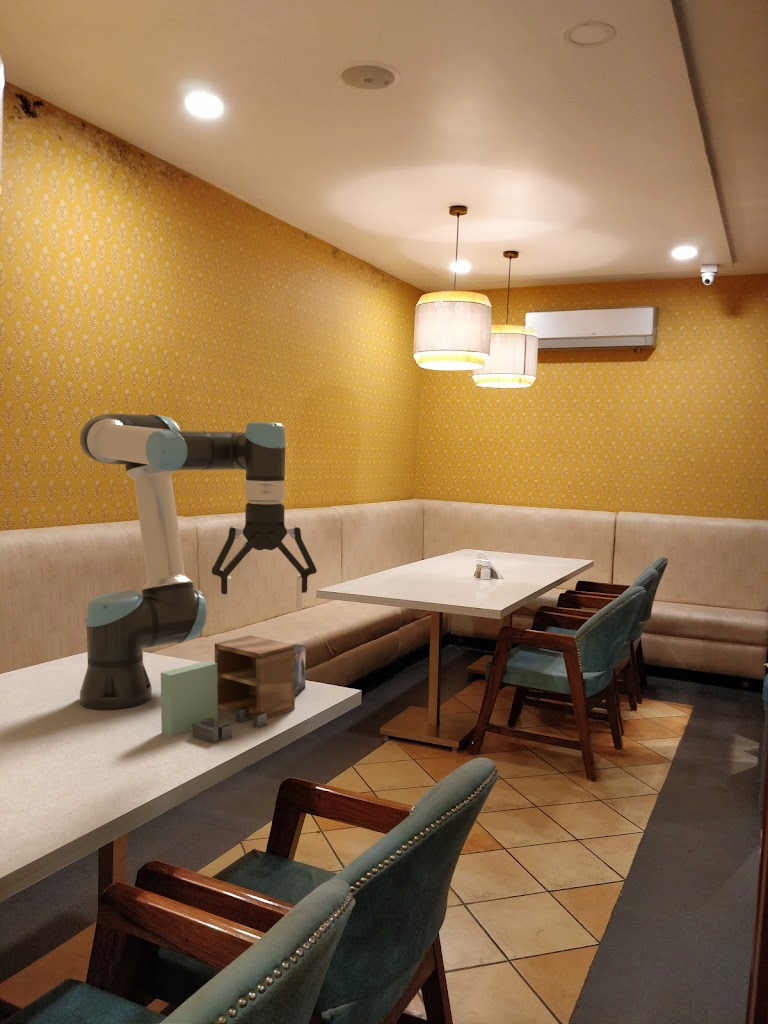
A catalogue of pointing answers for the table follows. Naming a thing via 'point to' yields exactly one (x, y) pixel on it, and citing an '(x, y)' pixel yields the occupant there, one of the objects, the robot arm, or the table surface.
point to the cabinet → (255, 675)
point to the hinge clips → (225, 726)
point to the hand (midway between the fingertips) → (264, 609)
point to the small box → (300, 668)
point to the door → (188, 697)
